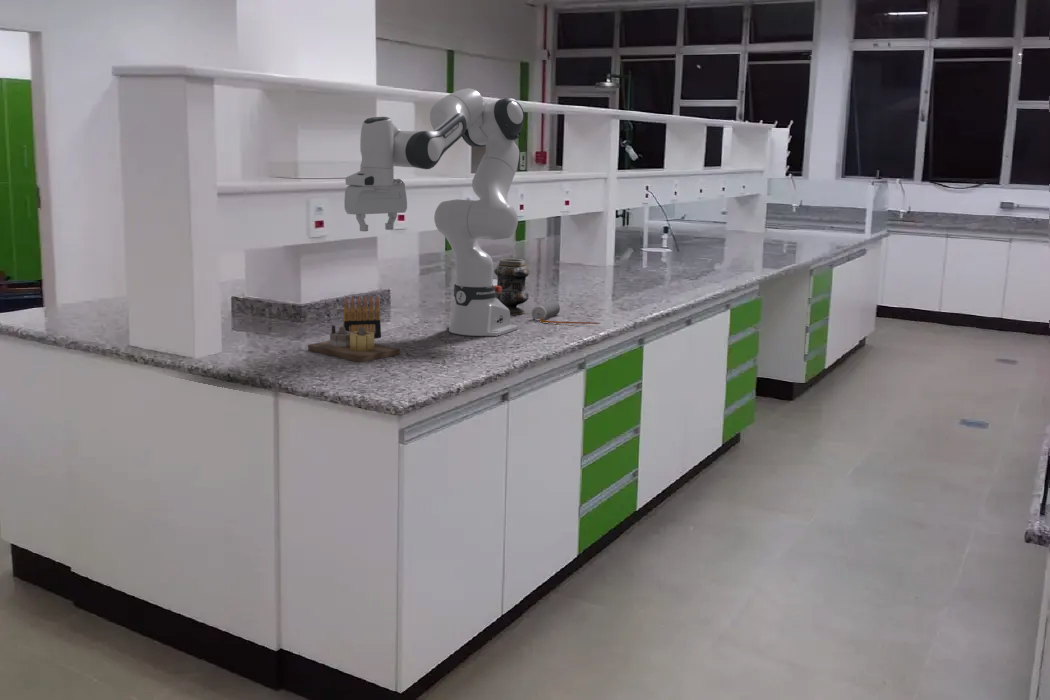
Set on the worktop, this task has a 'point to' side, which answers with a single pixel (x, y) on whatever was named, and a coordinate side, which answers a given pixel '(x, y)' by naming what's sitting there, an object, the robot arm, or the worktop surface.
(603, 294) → the worktop surface
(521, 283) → the apothecary jar
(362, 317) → the ammunition clip
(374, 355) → the gear board
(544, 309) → the motor
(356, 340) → the octagonal hollow tube
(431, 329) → the worktop surface
